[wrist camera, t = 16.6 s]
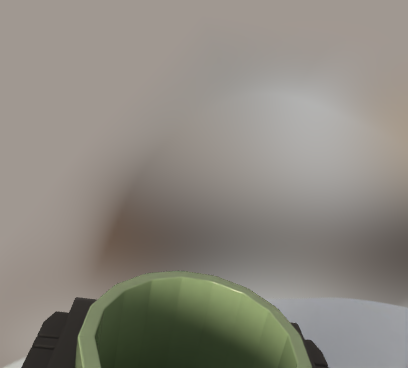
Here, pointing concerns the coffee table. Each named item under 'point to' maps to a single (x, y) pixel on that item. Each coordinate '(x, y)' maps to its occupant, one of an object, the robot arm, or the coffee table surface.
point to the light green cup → (186, 326)
